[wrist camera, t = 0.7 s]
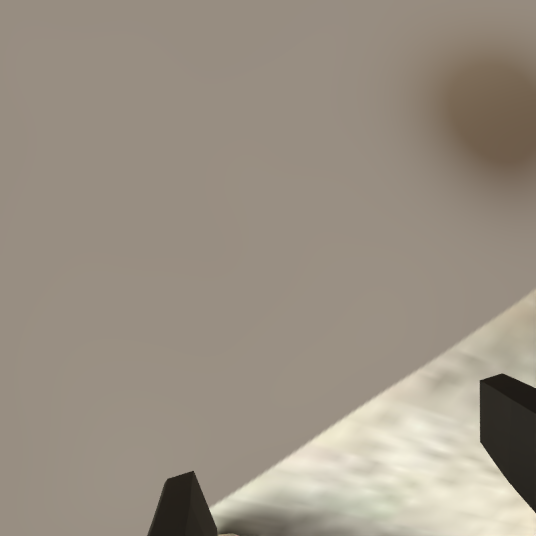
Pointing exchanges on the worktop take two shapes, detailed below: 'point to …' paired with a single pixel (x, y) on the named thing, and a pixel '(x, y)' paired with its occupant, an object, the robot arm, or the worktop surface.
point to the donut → (227, 535)
